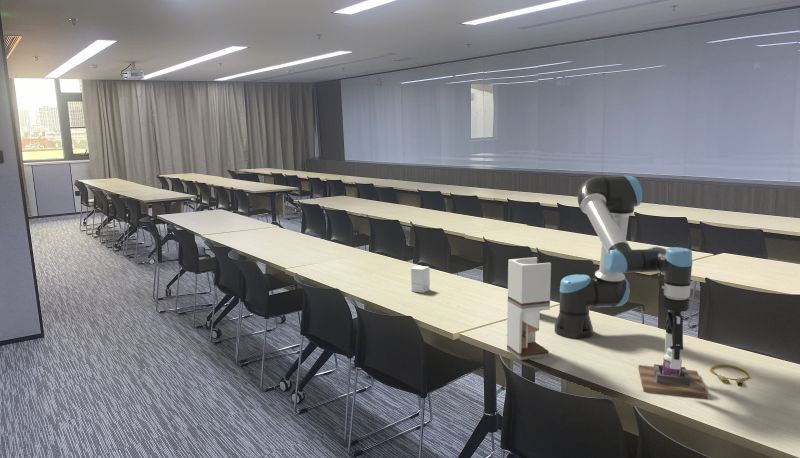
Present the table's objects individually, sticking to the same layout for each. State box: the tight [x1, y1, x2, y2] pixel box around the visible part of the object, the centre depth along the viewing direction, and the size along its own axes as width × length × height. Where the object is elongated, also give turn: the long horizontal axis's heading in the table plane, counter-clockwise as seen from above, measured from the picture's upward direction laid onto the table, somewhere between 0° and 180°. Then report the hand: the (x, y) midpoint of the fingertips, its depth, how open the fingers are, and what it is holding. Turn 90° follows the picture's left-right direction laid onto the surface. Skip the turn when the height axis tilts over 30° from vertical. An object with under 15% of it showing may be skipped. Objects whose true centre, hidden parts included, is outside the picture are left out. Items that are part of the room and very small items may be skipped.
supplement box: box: [410, 265, 431, 294], centre depth 300 cm, size 7×7×13 cm
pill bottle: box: [662, 348, 683, 376], centre depth 185 cm, size 5×5×10 cm
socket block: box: [638, 363, 708, 399], centre depth 186 cm, size 18×18×4 cm
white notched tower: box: [506, 256, 552, 361], centre depth 210 cm, size 11×11×35 cm
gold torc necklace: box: [709, 364, 750, 387], centre depth 191 cm, size 12×16×2 cm
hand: (672, 360), depth 185 cm, fingers open, 13 cm apart
